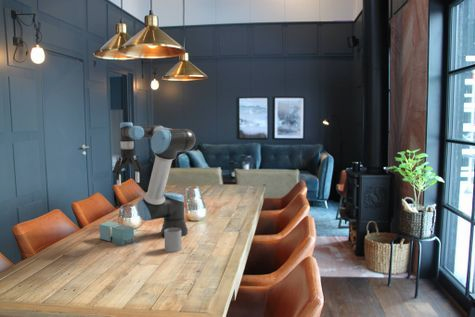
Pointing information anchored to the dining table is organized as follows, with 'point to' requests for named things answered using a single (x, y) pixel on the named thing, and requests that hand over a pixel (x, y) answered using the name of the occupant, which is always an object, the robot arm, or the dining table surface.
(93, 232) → the dining table surface
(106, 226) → the block
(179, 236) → the cup
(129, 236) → the teal stepped block
